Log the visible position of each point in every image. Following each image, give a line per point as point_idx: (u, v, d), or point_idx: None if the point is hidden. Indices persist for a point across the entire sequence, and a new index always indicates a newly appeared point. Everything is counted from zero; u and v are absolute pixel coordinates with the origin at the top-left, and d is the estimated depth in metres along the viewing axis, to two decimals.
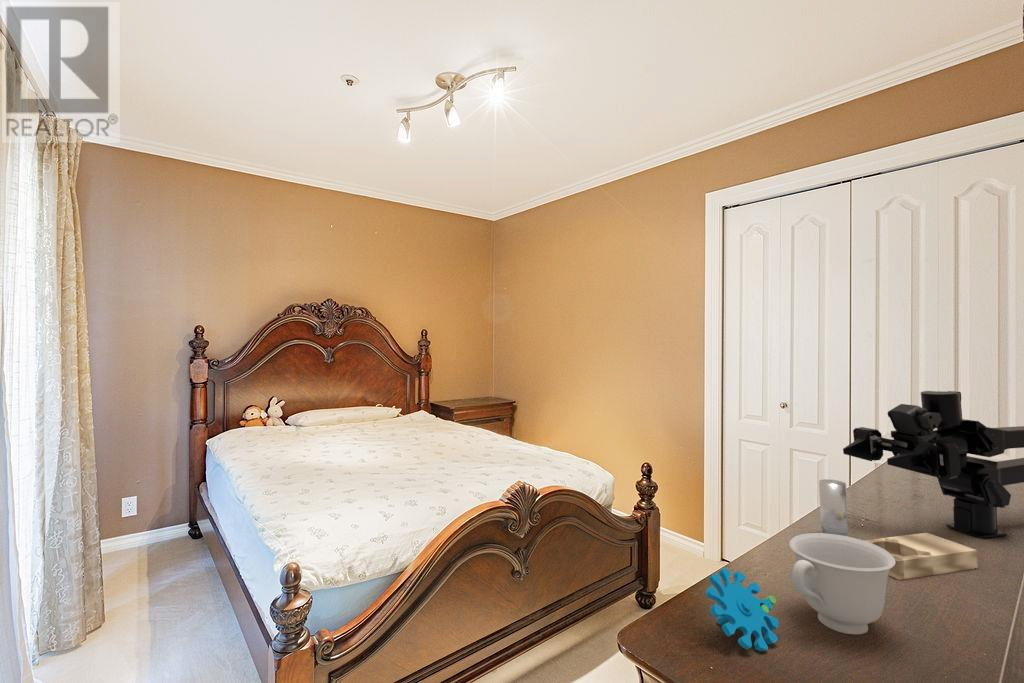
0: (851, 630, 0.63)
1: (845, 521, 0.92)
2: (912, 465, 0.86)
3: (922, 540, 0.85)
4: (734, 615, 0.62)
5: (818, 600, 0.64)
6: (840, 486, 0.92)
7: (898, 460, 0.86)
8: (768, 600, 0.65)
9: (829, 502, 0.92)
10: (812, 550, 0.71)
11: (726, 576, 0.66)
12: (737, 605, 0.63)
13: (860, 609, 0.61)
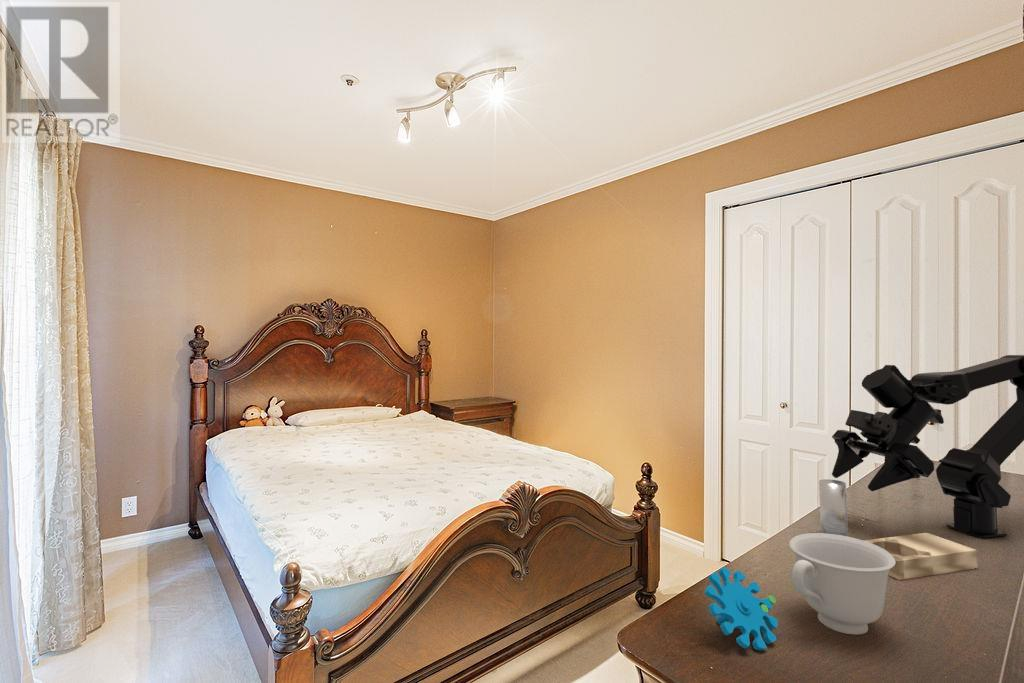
0: (851, 630, 0.63)
1: (845, 521, 0.92)
2: (891, 479, 0.89)
3: (922, 540, 0.85)
4: (733, 614, 0.62)
5: (818, 600, 0.64)
6: (840, 486, 0.92)
7: (876, 483, 0.89)
8: (768, 600, 0.66)
9: (829, 502, 0.92)
10: (812, 550, 0.71)
11: (726, 575, 0.66)
12: (736, 604, 0.63)
13: (860, 609, 0.61)
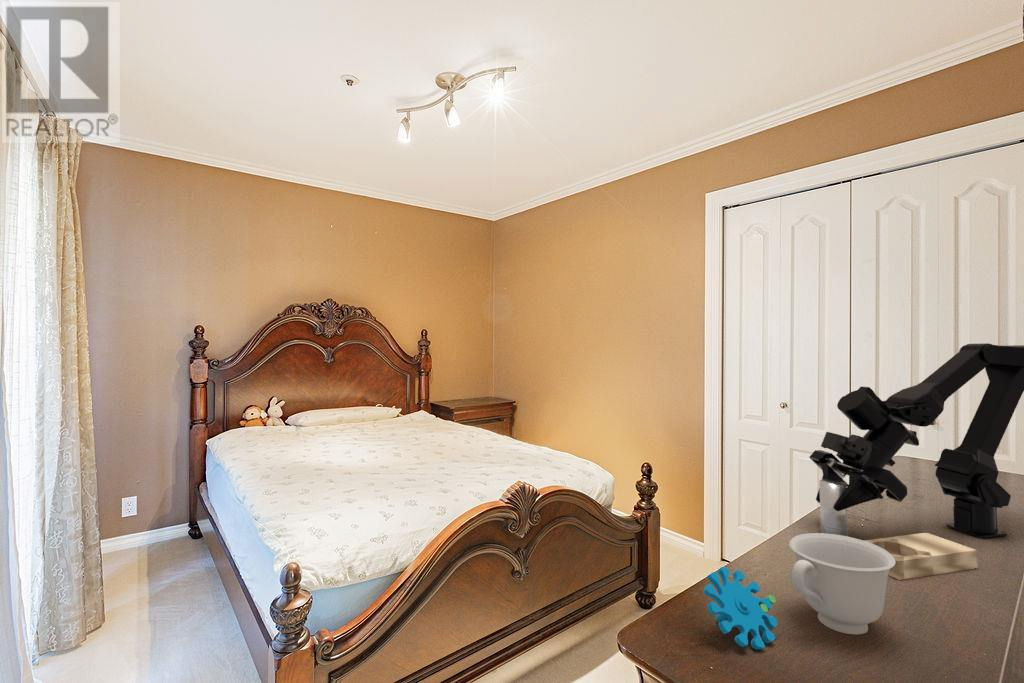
0: (851, 630, 0.63)
1: (845, 521, 0.92)
2: (856, 500, 0.90)
3: (922, 540, 0.85)
4: (732, 613, 0.63)
5: (818, 600, 0.64)
6: (840, 486, 0.92)
7: (842, 504, 0.91)
8: (767, 599, 0.66)
9: (829, 502, 0.92)
10: (812, 550, 0.71)
11: (725, 575, 0.66)
12: (735, 603, 0.64)
13: (860, 609, 0.61)
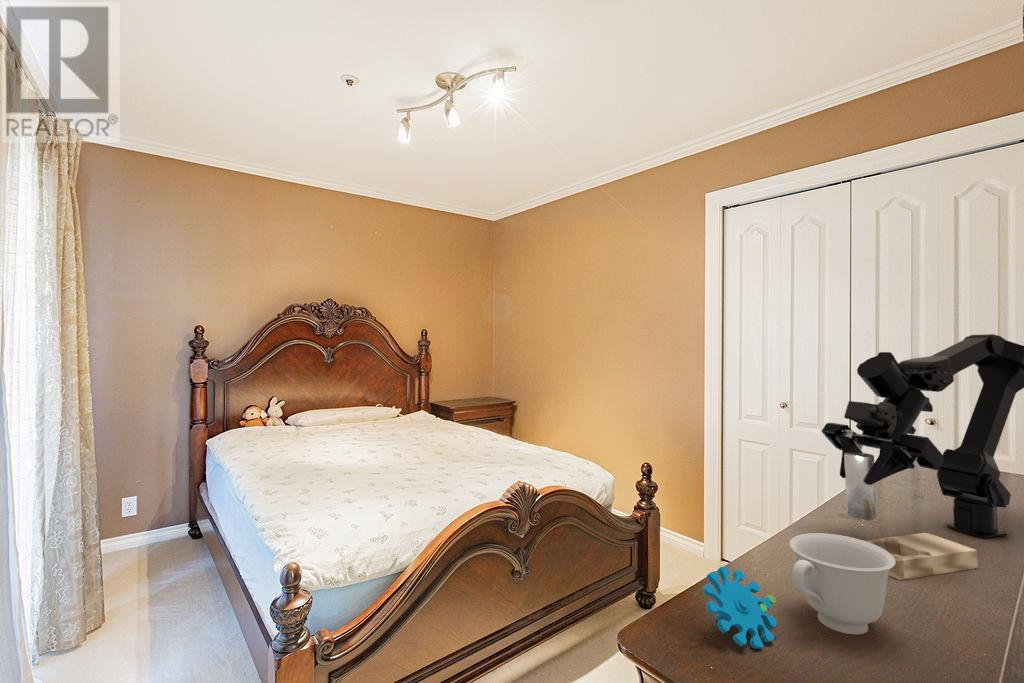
0: (851, 630, 0.63)
1: (874, 495, 0.86)
2: (887, 471, 0.85)
3: (922, 540, 0.85)
4: (730, 612, 0.63)
5: (818, 600, 0.64)
6: (870, 458, 0.85)
7: (874, 476, 0.84)
8: (767, 599, 0.66)
9: (859, 476, 0.86)
10: (812, 550, 0.71)
11: (724, 574, 0.67)
12: (734, 603, 0.64)
13: (860, 609, 0.61)
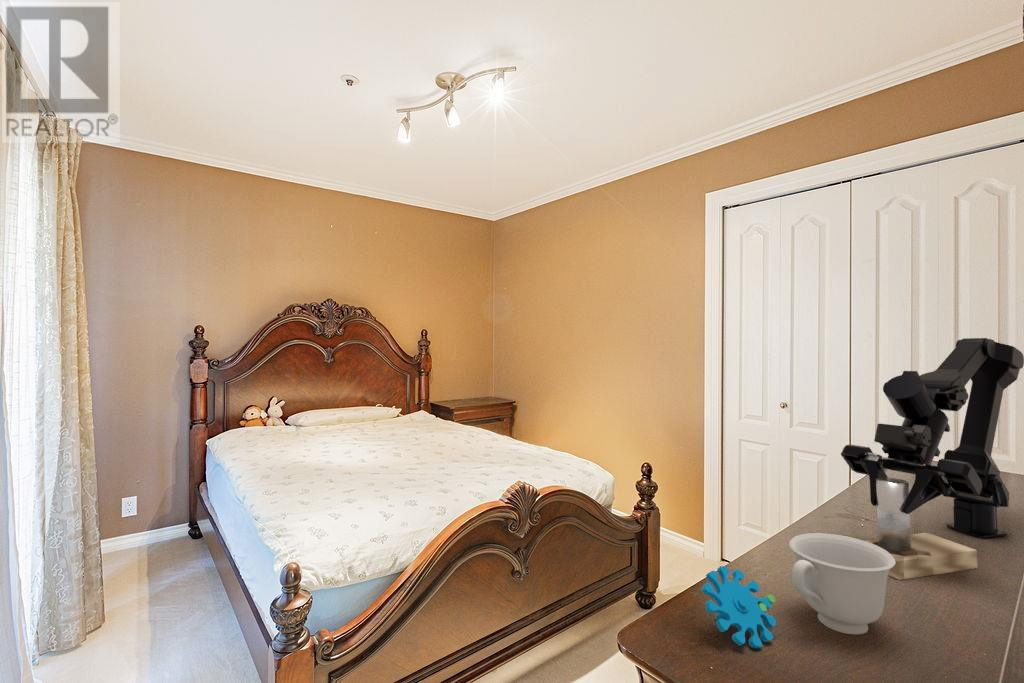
0: (851, 630, 0.63)
1: (910, 524, 0.81)
2: (923, 498, 0.80)
3: (922, 540, 0.85)
4: (729, 611, 0.63)
5: (818, 600, 0.64)
6: (906, 485, 0.80)
7: (912, 505, 0.79)
8: (767, 599, 0.66)
9: (896, 504, 0.80)
10: (812, 550, 0.71)
11: (724, 574, 0.67)
12: (733, 602, 0.64)
13: (860, 609, 0.61)
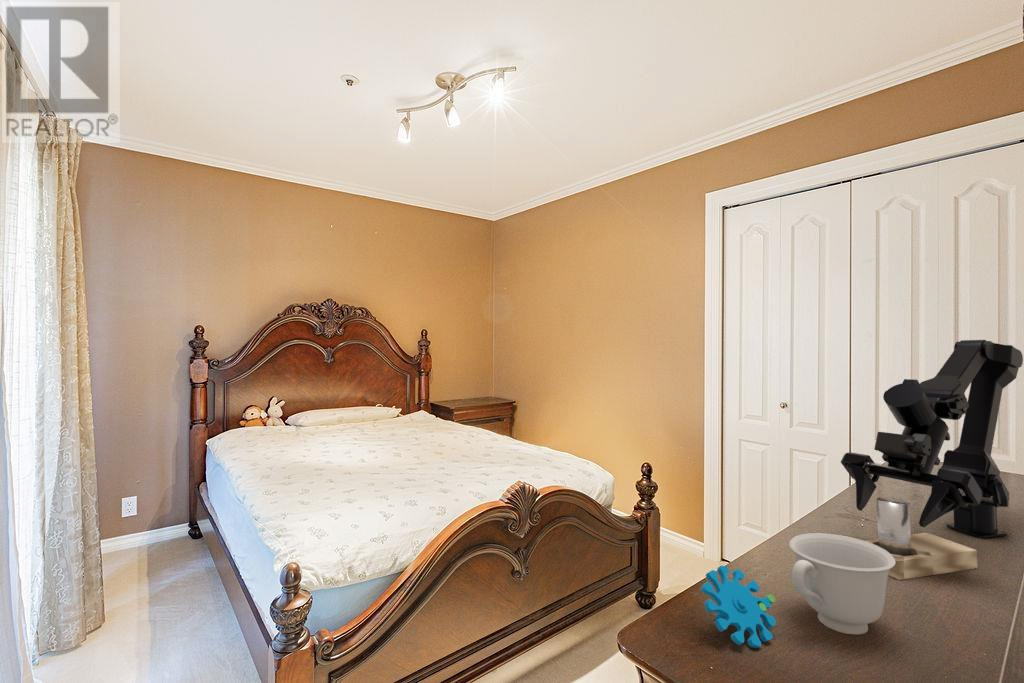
0: (851, 630, 0.63)
1: None
2: (940, 511, 0.78)
3: (922, 540, 0.85)
4: (729, 611, 0.63)
5: (818, 600, 0.64)
6: (907, 505, 0.80)
7: (928, 518, 0.77)
8: (767, 599, 0.66)
9: (897, 525, 0.80)
10: (812, 550, 0.71)
11: (724, 573, 0.67)
12: (732, 602, 0.64)
13: (860, 609, 0.61)
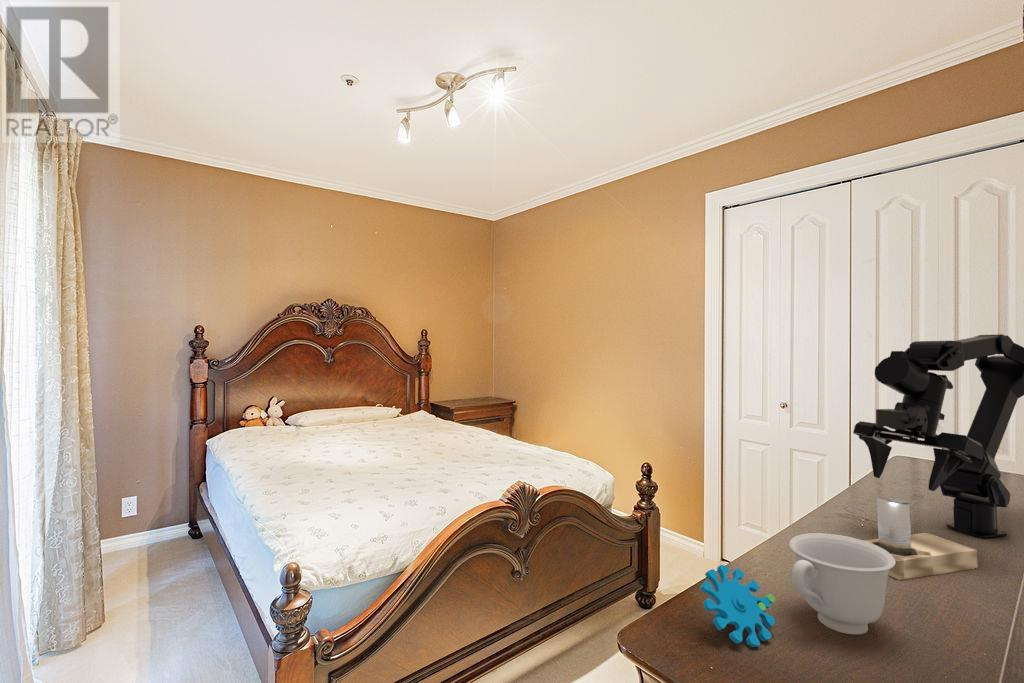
0: (851, 630, 0.63)
1: None
2: (947, 473, 0.84)
3: (922, 540, 0.85)
4: (727, 610, 0.63)
5: (818, 600, 0.64)
6: (907, 505, 0.80)
7: (936, 482, 0.84)
8: (766, 598, 0.66)
9: (897, 525, 0.80)
10: (812, 550, 0.71)
11: (723, 572, 0.67)
12: (731, 601, 0.64)
13: (860, 609, 0.61)
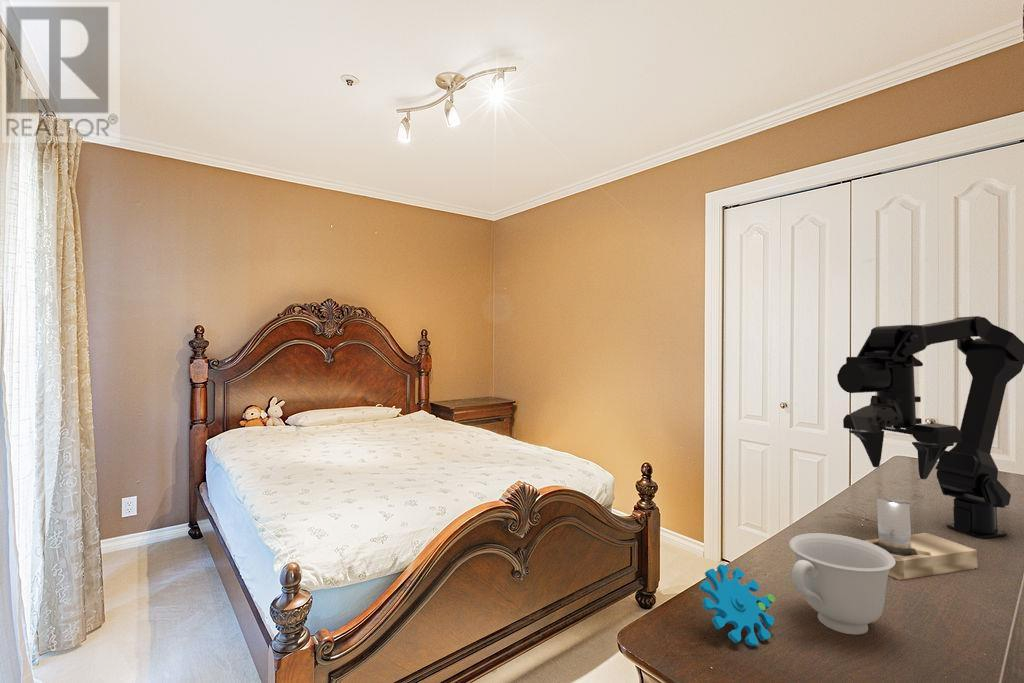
0: (851, 630, 0.63)
1: None
2: (933, 459, 0.87)
3: (922, 540, 0.85)
4: (726, 609, 0.63)
5: (818, 600, 0.64)
6: (907, 505, 0.80)
7: (925, 471, 0.87)
8: (766, 598, 0.66)
9: (897, 525, 0.80)
10: (812, 550, 0.71)
11: (723, 572, 0.67)
12: (731, 600, 0.64)
13: (860, 609, 0.61)
